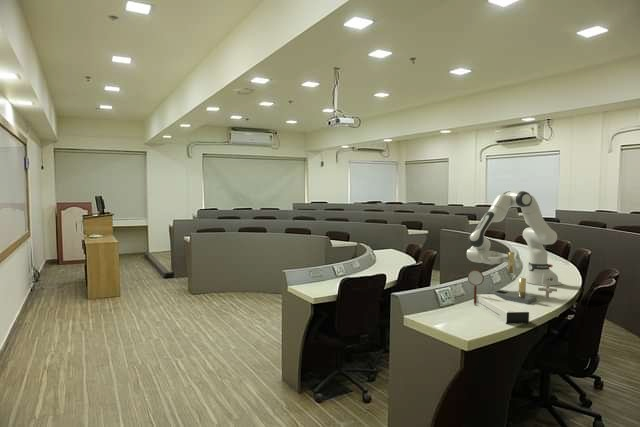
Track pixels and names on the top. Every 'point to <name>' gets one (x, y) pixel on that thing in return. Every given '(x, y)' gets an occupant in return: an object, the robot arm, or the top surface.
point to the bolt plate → (515, 294)
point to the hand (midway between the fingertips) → (512, 260)
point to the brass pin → (510, 264)
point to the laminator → (502, 309)
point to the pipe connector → (547, 289)
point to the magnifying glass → (475, 280)
